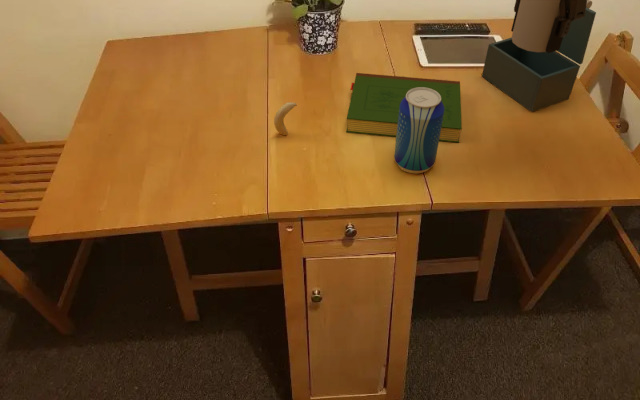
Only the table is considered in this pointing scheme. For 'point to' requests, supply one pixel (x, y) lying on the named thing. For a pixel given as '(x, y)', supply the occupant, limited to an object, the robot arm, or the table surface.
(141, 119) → the table surface
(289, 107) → the fruit
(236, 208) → the table surface
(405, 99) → the beer can
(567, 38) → the lid
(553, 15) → the cup
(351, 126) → the hardcover book
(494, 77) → the chest
